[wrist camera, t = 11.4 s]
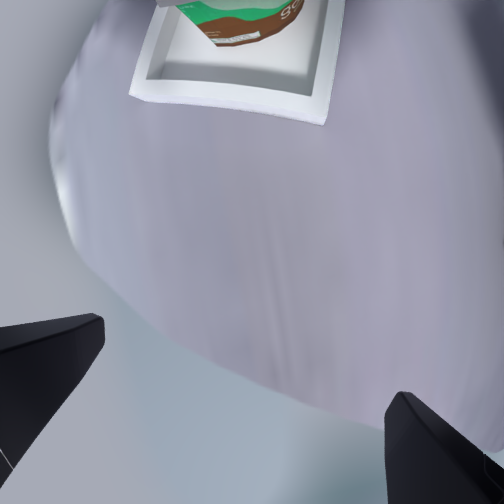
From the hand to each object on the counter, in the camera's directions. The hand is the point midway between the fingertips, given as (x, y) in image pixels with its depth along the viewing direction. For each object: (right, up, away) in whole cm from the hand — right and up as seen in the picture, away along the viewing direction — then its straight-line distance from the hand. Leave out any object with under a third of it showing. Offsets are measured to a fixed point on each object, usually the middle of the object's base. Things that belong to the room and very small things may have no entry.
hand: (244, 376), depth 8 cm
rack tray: (0, +21, +7) cm, 22 cm away
